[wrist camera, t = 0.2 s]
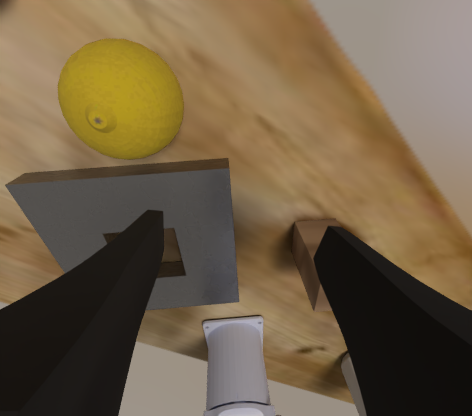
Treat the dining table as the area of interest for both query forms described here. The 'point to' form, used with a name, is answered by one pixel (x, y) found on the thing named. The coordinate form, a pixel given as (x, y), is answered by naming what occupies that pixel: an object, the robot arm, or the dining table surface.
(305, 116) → the dining table surface
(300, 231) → the brown rectangular block
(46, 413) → the robot arm
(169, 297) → the grey plate with hole
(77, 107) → the lemon
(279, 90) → the dining table surface
